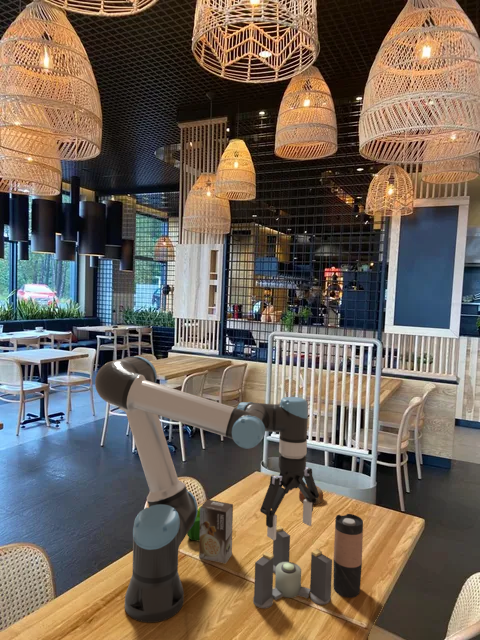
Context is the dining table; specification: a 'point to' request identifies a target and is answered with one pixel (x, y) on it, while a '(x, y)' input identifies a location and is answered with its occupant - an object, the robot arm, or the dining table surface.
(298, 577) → the tribrach hub
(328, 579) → the grey post tan tip
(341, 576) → the travel mug
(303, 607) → the dining table surface
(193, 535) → the bell pepper
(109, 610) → the dining table surface
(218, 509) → the coffee box
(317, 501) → the bread roll
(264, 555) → the dark grey upright block
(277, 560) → the grey block tan end
